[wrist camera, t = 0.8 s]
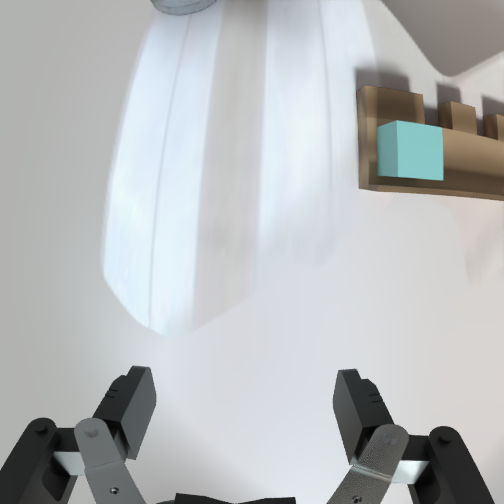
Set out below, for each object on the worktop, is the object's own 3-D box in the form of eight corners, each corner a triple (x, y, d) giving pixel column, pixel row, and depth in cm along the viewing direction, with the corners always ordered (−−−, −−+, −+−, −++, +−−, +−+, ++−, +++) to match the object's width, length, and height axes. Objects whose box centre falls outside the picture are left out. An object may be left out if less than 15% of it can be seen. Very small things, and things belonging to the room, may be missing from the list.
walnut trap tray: (356, 92, 30) (374, 77, 24) (513, 125, 30) (541, 123, 24) (359, 188, 33) (379, 191, 27) (515, 200, 32) (542, 206, 26)
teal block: (376, 127, 28) (396, 120, 23) (417, 132, 28) (442, 127, 23) (377, 175, 29) (397, 176, 24) (418, 178, 29) (443, 180, 24)
